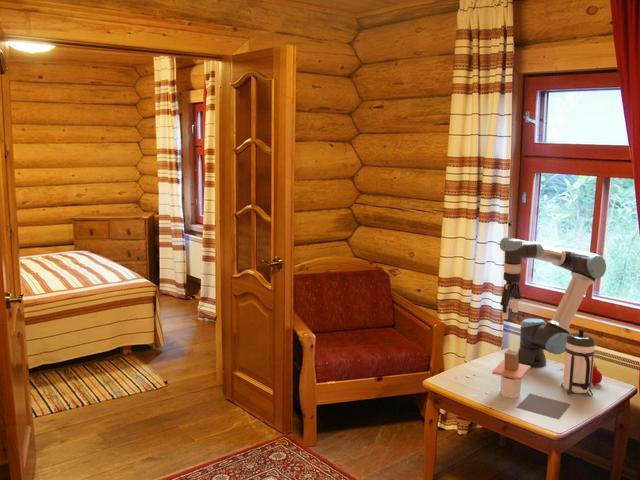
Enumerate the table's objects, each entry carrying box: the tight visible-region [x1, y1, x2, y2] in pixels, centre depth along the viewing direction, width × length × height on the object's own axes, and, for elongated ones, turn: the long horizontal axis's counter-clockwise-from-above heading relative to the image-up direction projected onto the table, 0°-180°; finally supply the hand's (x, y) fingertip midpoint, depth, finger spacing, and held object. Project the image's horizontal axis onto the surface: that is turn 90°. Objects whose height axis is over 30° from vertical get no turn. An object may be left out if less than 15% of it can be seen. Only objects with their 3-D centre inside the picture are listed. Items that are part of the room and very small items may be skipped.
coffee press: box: [560, 329, 597, 397], centre depth 273 cm, size 17×16×30 cm
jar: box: [500, 376, 522, 399], centre depth 271 cm, size 9×8×12 cm
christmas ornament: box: [591, 363, 603, 385], centre depth 284 cm, size 7×7×10 cm
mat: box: [516, 393, 572, 420], centre depth 260 cm, size 18×18×1 cm
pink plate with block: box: [491, 349, 532, 381], centre depth 269 cm, size 13×13×9 cm
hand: (509, 315), depth 284 cm, fingers open, 13 cm apart
